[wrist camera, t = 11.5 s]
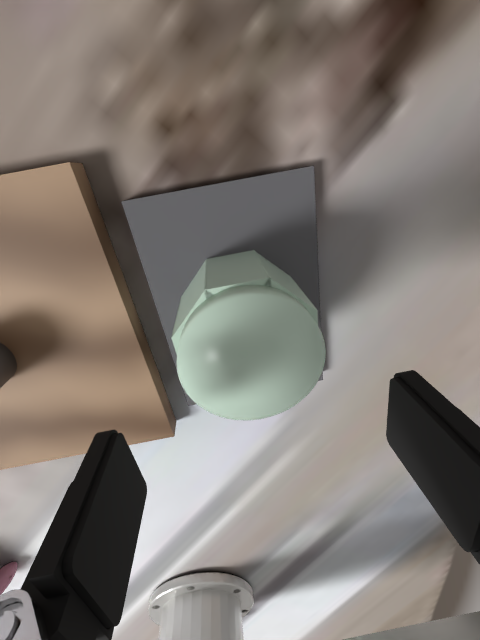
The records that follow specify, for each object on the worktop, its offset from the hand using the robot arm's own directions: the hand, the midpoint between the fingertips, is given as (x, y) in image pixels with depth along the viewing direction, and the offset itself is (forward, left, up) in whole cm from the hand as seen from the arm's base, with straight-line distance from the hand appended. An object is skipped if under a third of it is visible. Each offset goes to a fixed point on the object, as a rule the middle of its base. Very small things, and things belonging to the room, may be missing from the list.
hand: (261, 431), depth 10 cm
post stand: (+1, +15, -10) cm, 18 cm away
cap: (+1, 0, -9) cm, 9 cm away
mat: (+1, 0, -10) cm, 10 cm away
